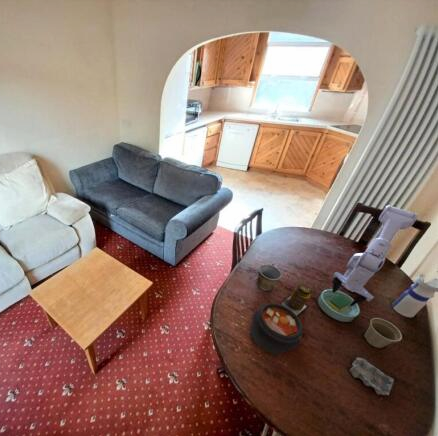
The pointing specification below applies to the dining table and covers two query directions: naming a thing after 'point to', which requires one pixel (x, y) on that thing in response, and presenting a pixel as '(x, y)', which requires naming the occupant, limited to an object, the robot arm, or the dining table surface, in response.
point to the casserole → (276, 328)
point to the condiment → (298, 299)
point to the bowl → (344, 315)
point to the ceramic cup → (268, 276)
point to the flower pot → (382, 333)
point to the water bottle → (415, 296)
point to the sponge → (339, 303)
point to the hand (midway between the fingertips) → (343, 298)
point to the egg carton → (372, 376)
